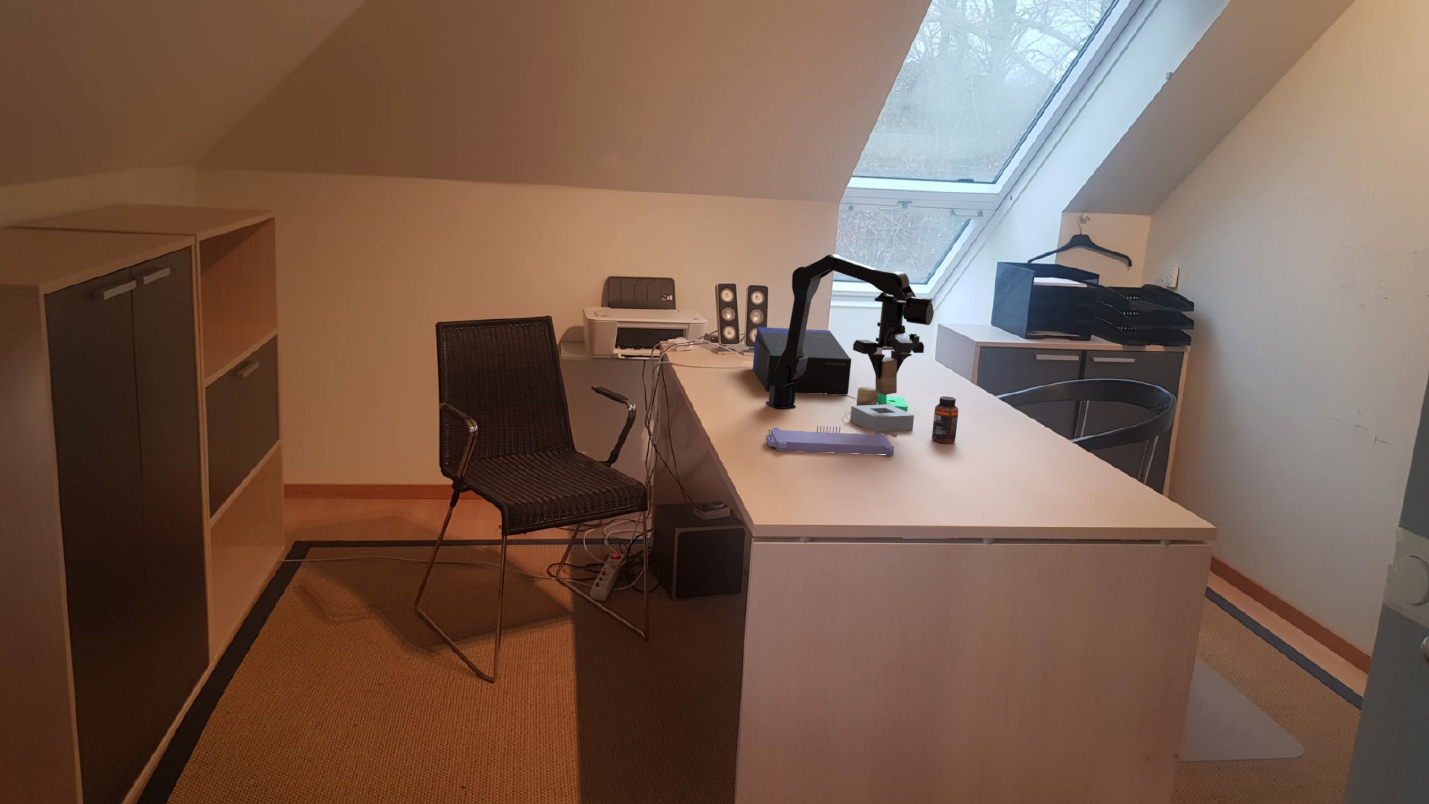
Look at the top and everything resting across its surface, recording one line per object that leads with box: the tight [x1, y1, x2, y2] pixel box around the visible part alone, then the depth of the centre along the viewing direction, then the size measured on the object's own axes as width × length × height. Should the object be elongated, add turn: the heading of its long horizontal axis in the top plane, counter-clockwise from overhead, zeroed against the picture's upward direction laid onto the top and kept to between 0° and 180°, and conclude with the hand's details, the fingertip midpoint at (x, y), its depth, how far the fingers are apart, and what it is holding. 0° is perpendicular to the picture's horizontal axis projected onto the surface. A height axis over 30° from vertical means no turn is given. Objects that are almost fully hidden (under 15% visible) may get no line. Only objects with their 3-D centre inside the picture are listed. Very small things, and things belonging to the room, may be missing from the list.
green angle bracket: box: [877, 393, 909, 412], centre depth 299 cm, size 12×8×10 cm, turn 177°
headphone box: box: [752, 326, 852, 395], centre depth 328 cm, size 25×35×14 cm
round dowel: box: [855, 386, 878, 406], centre depth 296 cm, size 6×6×6 cm
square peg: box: [875, 356, 898, 396], centre depth 278 cm, size 4×4×9 cm
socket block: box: [849, 404, 915, 433], centre depth 280 cm, size 12×12×4 cm
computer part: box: [765, 425, 895, 456], centre depth 256 cm, size 30×4×15 cm
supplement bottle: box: [931, 395, 959, 444], centre depth 268 cm, size 6×6×11 cm
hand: (885, 378), depth 278 cm, fingers closed on square peg, 4 cm apart
